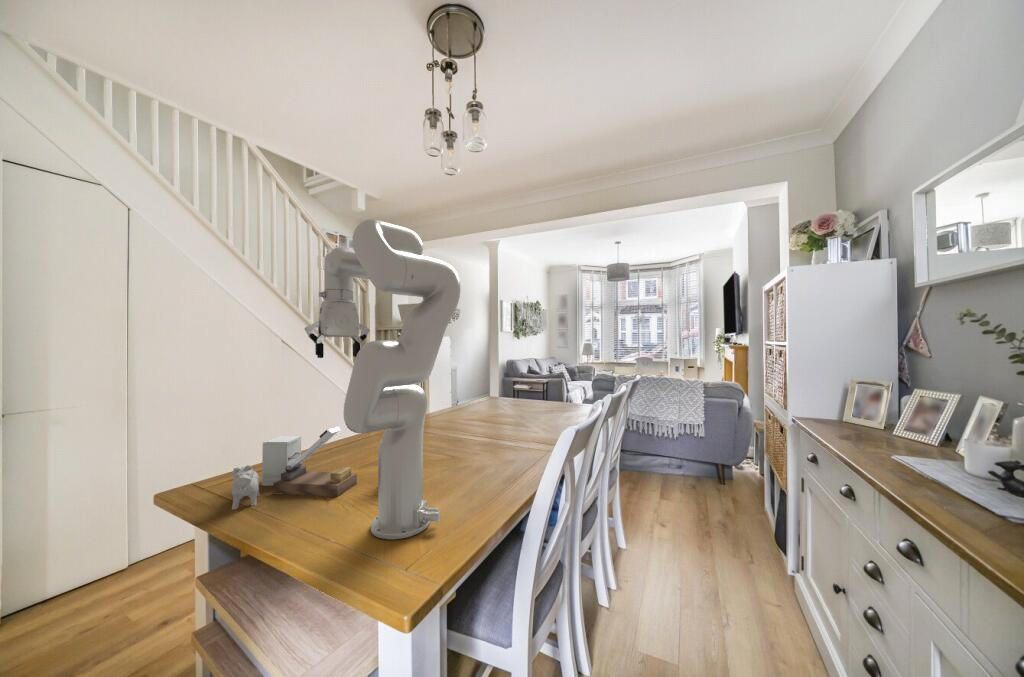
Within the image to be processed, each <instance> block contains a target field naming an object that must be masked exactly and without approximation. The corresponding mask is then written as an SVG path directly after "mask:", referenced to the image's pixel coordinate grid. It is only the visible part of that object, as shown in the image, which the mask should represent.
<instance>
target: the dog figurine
mask: <svg viewBox="0 0 1024 677" xmlns="http://www.w3.org/2000/svg"><path fill="white" fill-rule="evenodd" d="M231 478H232V480H233V483H232V486H231V489H230V491H231V495H232V507H231V510H233V509H235V510H237V508H238V509H239V505H240V502H241V500H243V499H244V497H248V498H249V500H250V505H251V507H254V505H255V506H257V505H258V504H257V497H260V475H259V473H257V471H255V470H254V469H253V466H252V465H251V464H247V465H245V466H242V467H237V466H236V467H234V468H233V471H232V477H231ZM240 499H241V500H240ZM233 511H234V510H233Z"/></svg>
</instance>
